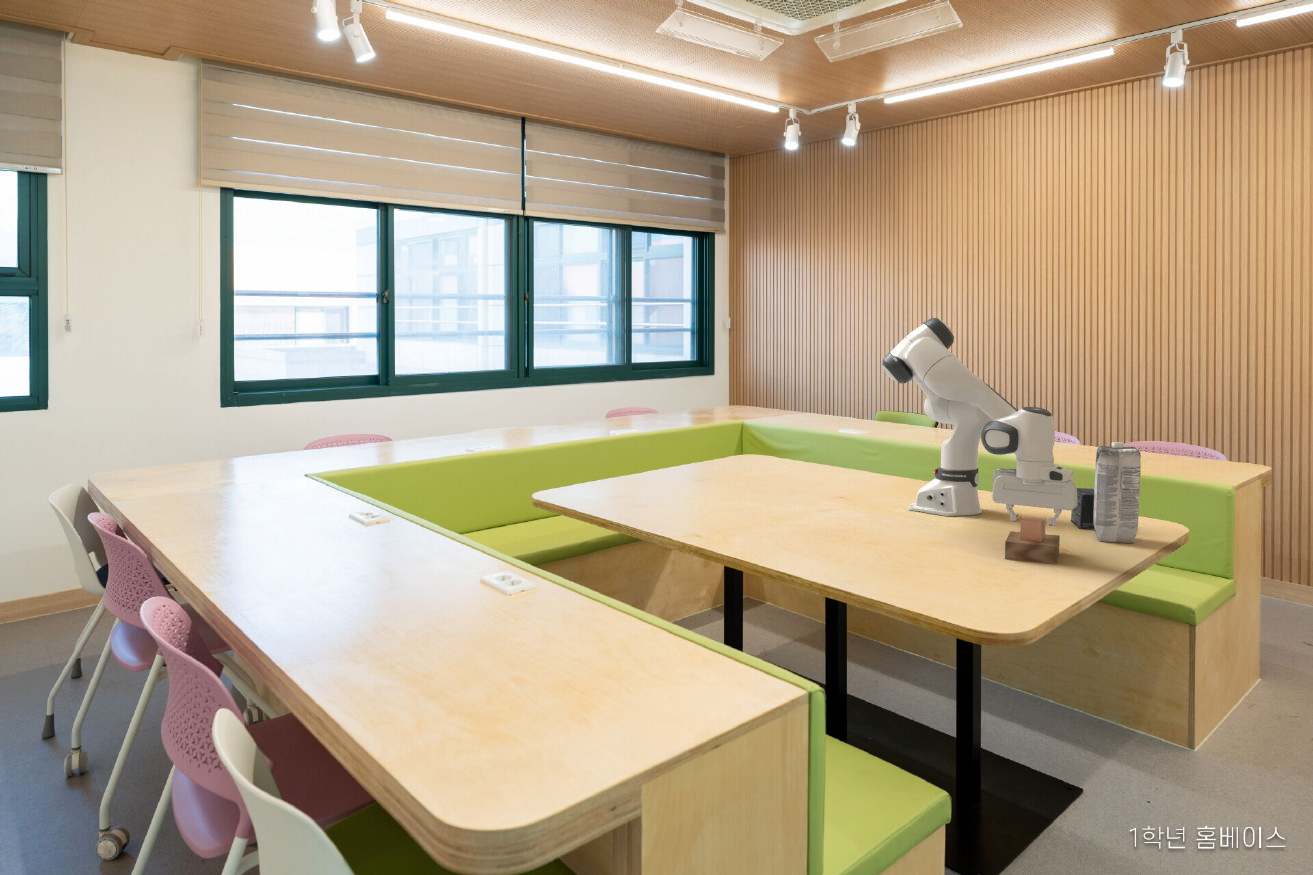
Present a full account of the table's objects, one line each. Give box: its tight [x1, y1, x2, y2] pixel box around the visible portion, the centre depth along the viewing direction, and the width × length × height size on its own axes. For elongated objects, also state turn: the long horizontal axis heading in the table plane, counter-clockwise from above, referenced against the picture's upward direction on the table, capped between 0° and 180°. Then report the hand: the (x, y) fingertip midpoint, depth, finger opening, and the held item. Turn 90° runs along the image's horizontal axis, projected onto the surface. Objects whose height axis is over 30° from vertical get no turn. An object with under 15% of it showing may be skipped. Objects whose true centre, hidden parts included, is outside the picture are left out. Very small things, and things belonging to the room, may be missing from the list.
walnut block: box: [1004, 530, 1061, 565], centre depth 223 cm, size 12×12×5 cm
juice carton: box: [1093, 441, 1142, 544], centre depth 236 cm, size 9×10×27 cm
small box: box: [1070, 487, 1095, 530], centre depth 254 cm, size 11×6×10 cm, turn 168°
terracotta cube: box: [1019, 516, 1047, 542], centre depth 223 cm, size 5×5×5 cm
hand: (1033, 523), depth 223 cm, fingers open, 8 cm apart
